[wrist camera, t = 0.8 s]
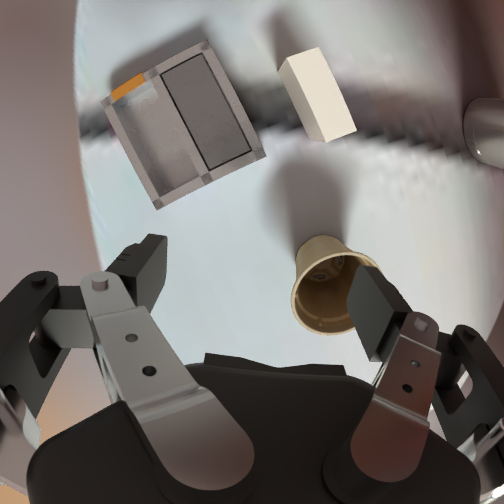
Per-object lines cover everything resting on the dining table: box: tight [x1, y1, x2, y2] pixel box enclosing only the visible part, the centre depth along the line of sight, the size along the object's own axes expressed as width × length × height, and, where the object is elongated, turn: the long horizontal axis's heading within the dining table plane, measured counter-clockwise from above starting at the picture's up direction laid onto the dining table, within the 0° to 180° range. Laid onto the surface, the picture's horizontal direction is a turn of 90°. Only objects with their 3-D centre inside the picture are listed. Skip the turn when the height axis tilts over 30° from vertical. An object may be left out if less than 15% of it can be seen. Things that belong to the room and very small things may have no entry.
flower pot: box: [291, 235, 382, 335], centre depth 31 cm, size 9×9×9 cm
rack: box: [101, 40, 266, 210], centre depth 27 cm, size 12×13×4 cm
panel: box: [278, 47, 357, 142], centre depth 25 cm, size 3×8×7 cm, turn 25°
